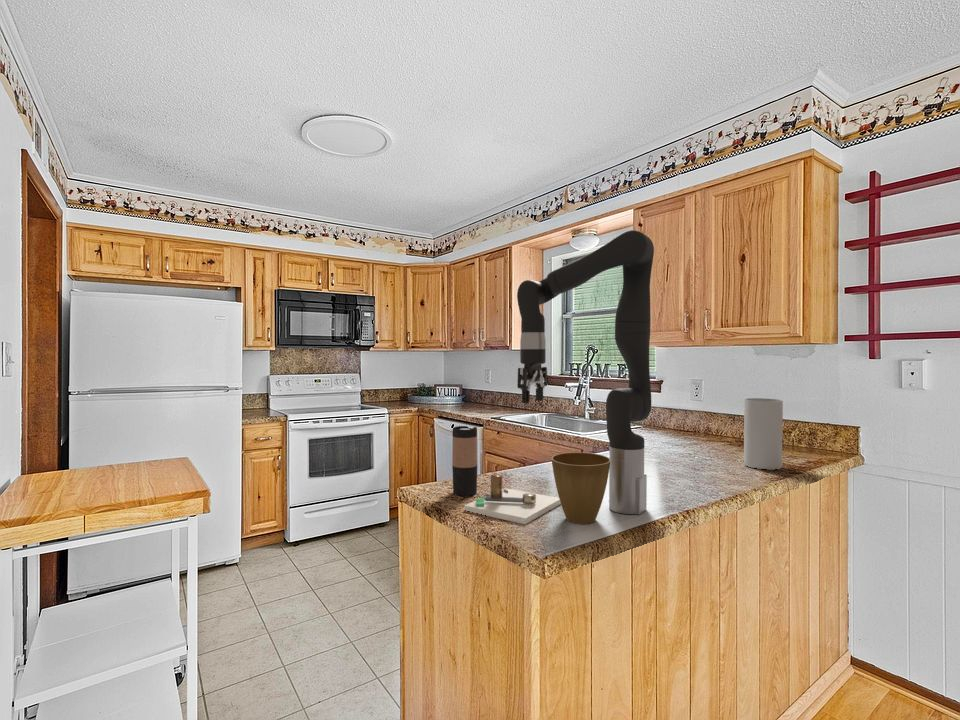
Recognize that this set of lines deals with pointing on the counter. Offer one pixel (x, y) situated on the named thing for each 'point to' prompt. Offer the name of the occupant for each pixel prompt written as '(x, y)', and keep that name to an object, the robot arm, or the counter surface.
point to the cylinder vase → (763, 433)
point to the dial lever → (497, 496)
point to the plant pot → (580, 484)
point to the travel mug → (464, 461)
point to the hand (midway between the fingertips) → (532, 401)
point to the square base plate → (513, 507)
